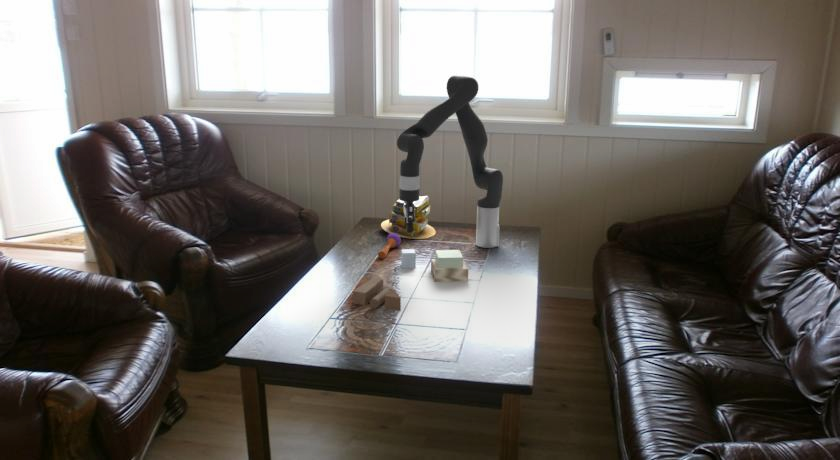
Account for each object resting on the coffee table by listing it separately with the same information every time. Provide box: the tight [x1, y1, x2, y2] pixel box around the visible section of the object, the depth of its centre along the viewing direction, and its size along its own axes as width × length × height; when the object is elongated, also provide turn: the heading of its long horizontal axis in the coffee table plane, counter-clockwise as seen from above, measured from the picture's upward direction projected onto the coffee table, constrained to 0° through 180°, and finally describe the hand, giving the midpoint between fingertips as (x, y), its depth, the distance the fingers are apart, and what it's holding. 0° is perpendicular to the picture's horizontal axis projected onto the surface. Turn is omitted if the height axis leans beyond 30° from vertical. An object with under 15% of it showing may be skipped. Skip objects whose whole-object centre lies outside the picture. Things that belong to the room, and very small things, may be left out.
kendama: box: [377, 233, 402, 260], centre depth 270 cm, size 6×6×20 cm
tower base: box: [430, 258, 469, 283], centre depth 243 cm, size 12×12×5 cm
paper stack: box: [380, 195, 437, 240], centre depth 297 cm, size 25×25×17 cm
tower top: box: [434, 249, 464, 268], centre depth 242 cm, size 9×9×4 cm
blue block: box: [400, 248, 417, 269], centre depth 253 cm, size 5×5×6 cm
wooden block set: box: [352, 275, 402, 312], centre depth 220 cm, size 17×6×18 cm
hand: (408, 229), depth 249 cm, fingers open, 8 cm apart
